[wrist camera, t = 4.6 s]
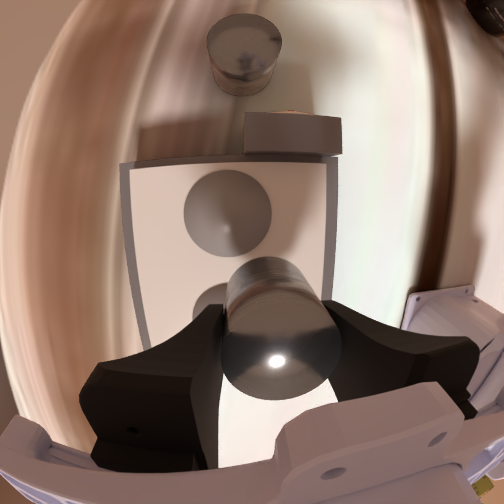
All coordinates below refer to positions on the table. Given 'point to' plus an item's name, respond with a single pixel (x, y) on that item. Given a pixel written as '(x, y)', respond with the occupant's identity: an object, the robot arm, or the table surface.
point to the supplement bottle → (488, 15)
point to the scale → (230, 217)
